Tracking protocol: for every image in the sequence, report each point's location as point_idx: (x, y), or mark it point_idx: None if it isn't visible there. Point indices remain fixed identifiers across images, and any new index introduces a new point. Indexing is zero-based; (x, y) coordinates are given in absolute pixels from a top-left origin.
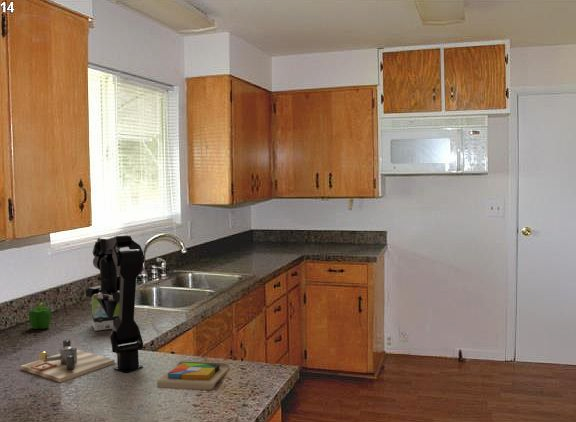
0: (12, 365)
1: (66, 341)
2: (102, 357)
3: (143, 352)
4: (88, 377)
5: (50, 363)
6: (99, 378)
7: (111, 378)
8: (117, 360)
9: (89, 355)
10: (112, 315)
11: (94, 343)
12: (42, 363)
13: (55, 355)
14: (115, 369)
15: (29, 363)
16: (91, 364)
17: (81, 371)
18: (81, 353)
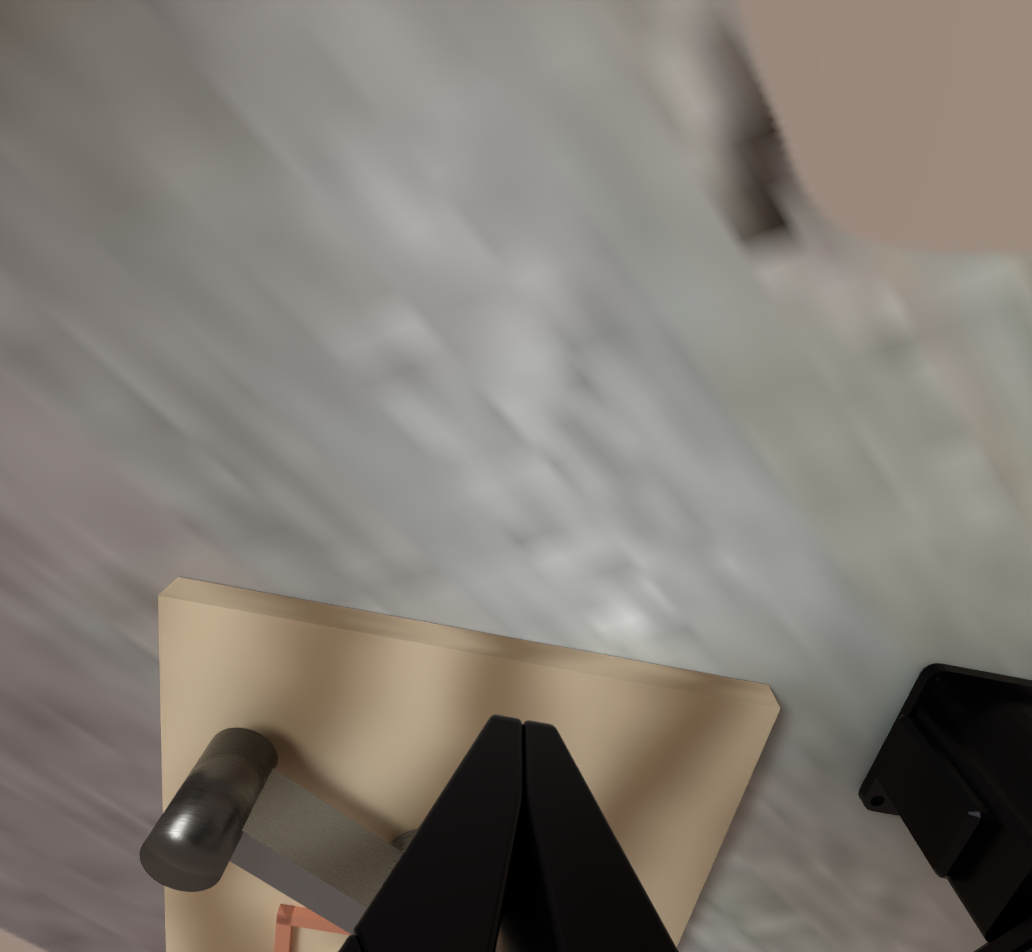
0: (49, 917)
1: (199, 875)
2: (625, 698)
3: (897, 320)
4: (751, 934)
5: (342, 931)
6: (842, 928)
7: (933, 909)
8: (900, 814)
9: (461, 692)
10: (573, 796)
11: (71, 246)
12: (284, 943)
13: (175, 777)
14: (879, 805)
15: (175, 939)
16: (653, 842)
17: (676, 946)
18: (342, 675)
